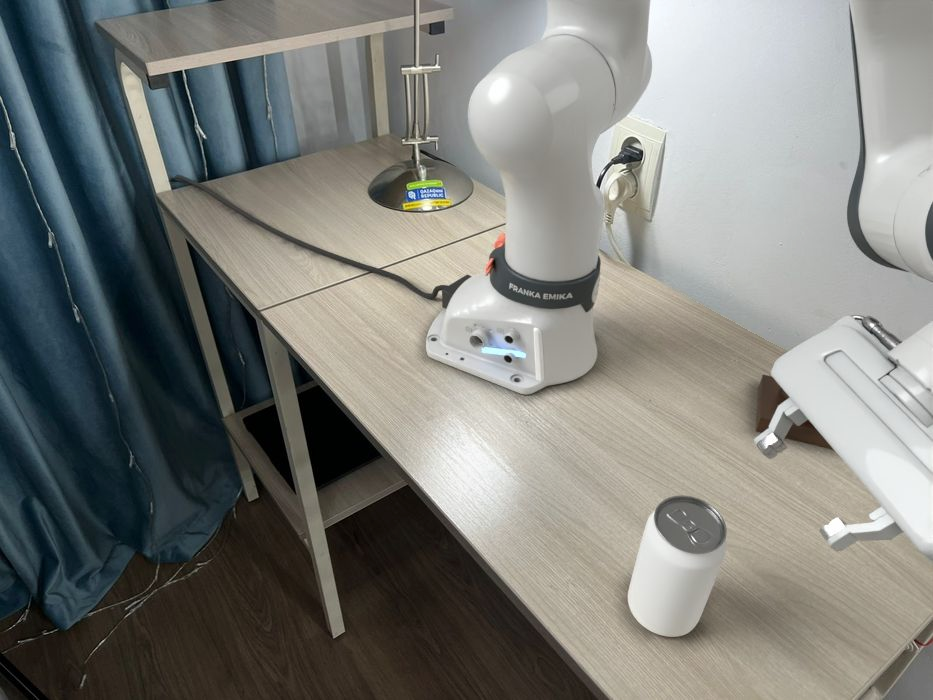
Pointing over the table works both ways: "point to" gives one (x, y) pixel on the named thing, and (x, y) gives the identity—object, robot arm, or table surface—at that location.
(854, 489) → the table surface
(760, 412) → the button block
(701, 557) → the can
